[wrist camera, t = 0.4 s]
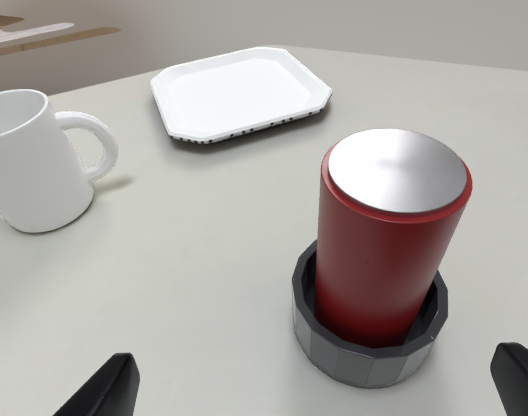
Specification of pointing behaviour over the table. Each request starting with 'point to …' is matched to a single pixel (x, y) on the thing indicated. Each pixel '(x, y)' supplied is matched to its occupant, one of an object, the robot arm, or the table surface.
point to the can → (383, 231)
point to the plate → (236, 94)
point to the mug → (45, 162)
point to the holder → (357, 356)
